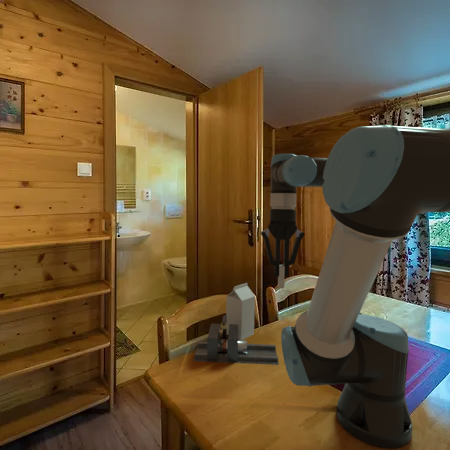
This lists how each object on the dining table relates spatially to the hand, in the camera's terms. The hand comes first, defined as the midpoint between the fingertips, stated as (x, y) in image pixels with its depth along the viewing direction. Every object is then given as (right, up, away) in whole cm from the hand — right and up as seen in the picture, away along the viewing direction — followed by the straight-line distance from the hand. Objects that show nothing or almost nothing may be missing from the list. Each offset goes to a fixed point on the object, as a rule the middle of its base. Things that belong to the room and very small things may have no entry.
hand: (280, 287), depth 95 cm
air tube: (-16, -21, +4) cm, 27 cm away
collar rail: (-13, -22, +4) cm, 26 cm away
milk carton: (-11, -21, +17) cm, 30 cm away
